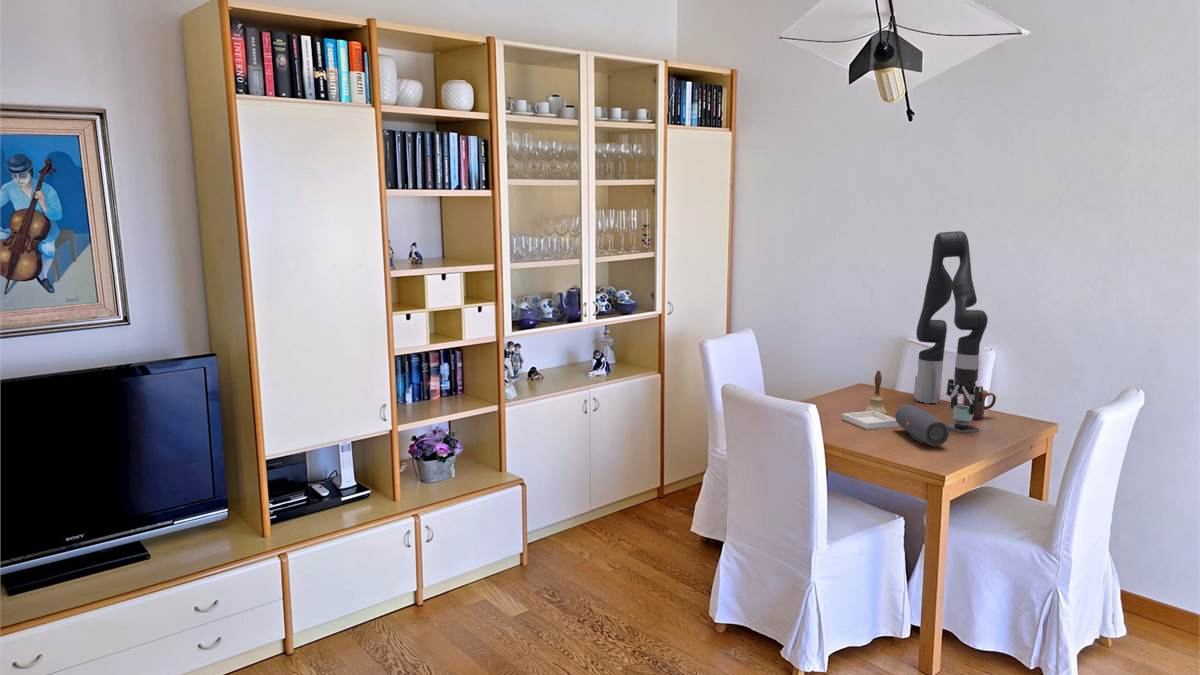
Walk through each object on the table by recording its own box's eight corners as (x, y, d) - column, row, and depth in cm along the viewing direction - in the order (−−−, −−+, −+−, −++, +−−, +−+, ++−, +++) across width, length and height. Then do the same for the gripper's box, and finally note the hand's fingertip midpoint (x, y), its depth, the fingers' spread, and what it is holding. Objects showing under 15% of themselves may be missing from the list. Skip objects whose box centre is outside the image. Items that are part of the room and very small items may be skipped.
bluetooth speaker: (892, 430, 293) (894, 402, 291) (917, 430, 293) (920, 402, 292) (921, 449, 270) (924, 420, 269) (949, 449, 271) (951, 420, 269)
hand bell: (890, 414, 314) (893, 373, 311) (868, 414, 314) (871, 373, 311) (883, 409, 322) (886, 368, 319) (861, 408, 322) (864, 368, 319)
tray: (842, 419, 305) (842, 413, 305) (873, 416, 310) (873, 410, 310) (866, 430, 292) (867, 423, 292) (898, 426, 297) (899, 420, 297)
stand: (944, 427, 297) (946, 407, 296) (961, 425, 300) (963, 405, 298) (961, 433, 290) (963, 412, 288) (978, 431, 292) (980, 410, 291)
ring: (948, 417, 296) (949, 406, 295) (964, 415, 298) (965, 404, 298) (962, 421, 290) (963, 410, 289) (978, 419, 293) (979, 408, 292)
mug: (964, 420, 307) (966, 393, 306) (956, 413, 316) (959, 387, 314) (998, 421, 306) (1000, 394, 304) (989, 415, 315) (991, 388, 313)
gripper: (943, 363, 296) (939, 407, 299) (973, 370, 283) (969, 417, 285) (959, 362, 299) (956, 406, 301) (991, 369, 285) (986, 415, 288)
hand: (962, 411), depth 293 cm, fingers open, 8 cm apart
